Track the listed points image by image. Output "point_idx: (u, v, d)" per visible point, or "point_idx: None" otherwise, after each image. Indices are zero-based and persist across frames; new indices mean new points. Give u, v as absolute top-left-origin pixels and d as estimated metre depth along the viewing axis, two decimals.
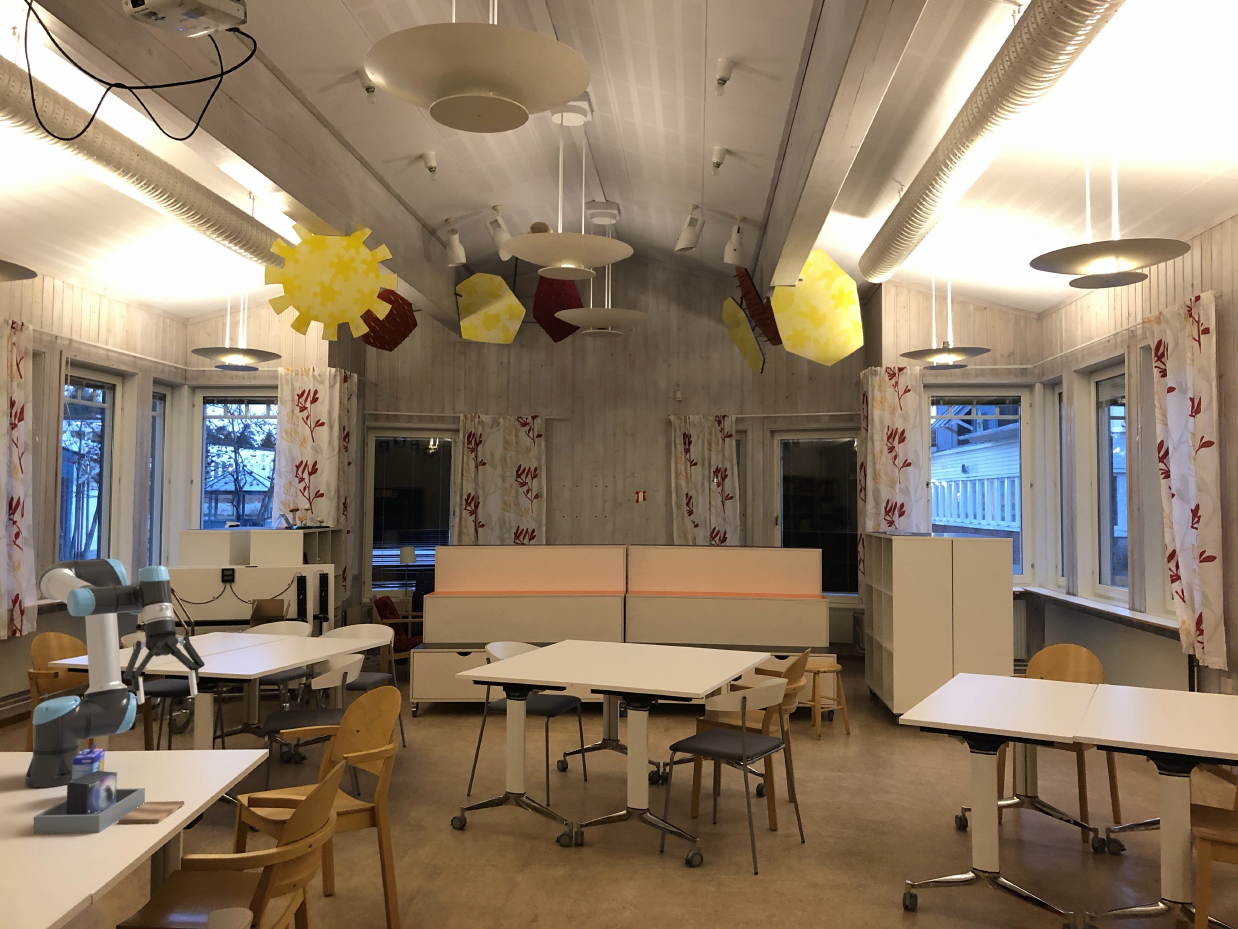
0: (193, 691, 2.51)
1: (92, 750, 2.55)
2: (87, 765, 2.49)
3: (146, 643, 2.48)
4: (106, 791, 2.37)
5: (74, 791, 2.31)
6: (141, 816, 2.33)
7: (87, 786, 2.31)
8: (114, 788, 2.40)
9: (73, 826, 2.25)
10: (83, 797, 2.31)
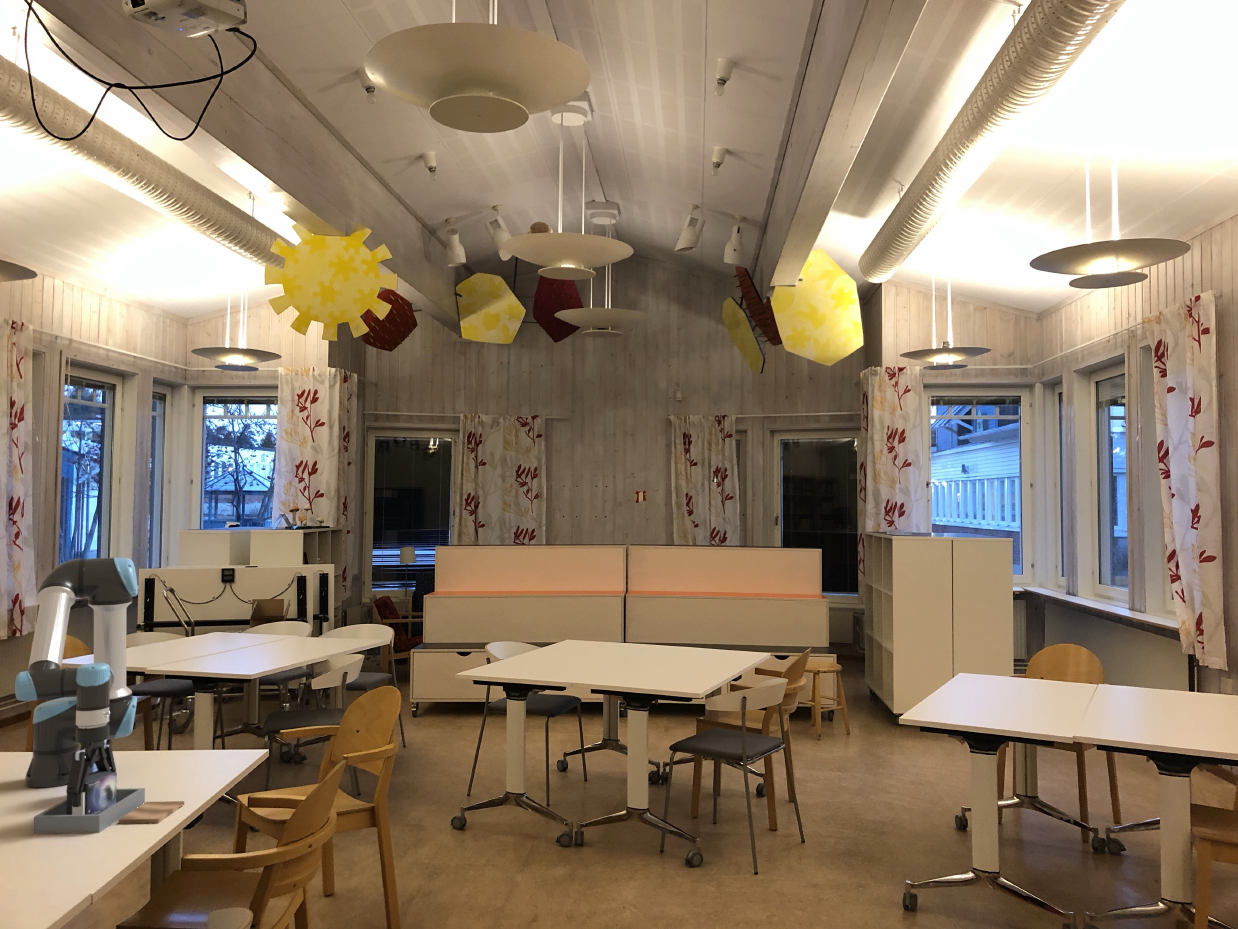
0: None
1: None
2: None
3: (86, 752, 2.33)
4: (106, 791, 2.37)
5: None
6: (141, 816, 2.33)
7: (87, 786, 2.31)
8: (114, 788, 2.40)
9: (73, 826, 2.25)
10: None
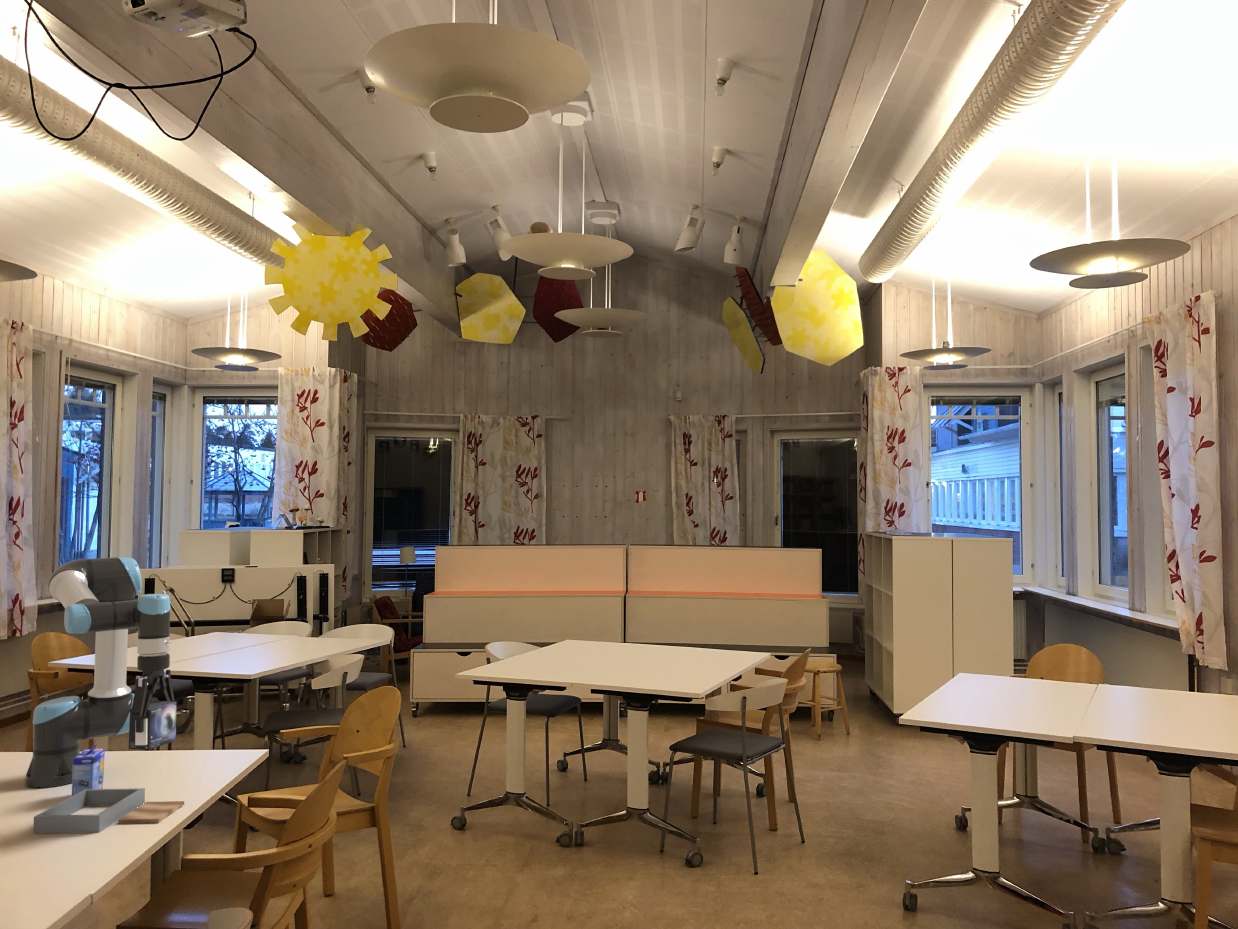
0: None
1: (92, 750, 2.55)
2: (87, 765, 2.49)
3: (148, 679, 2.36)
4: (166, 719, 2.40)
5: None
6: (141, 816, 2.33)
7: (149, 712, 2.34)
8: (174, 717, 2.43)
9: (73, 826, 2.25)
10: None
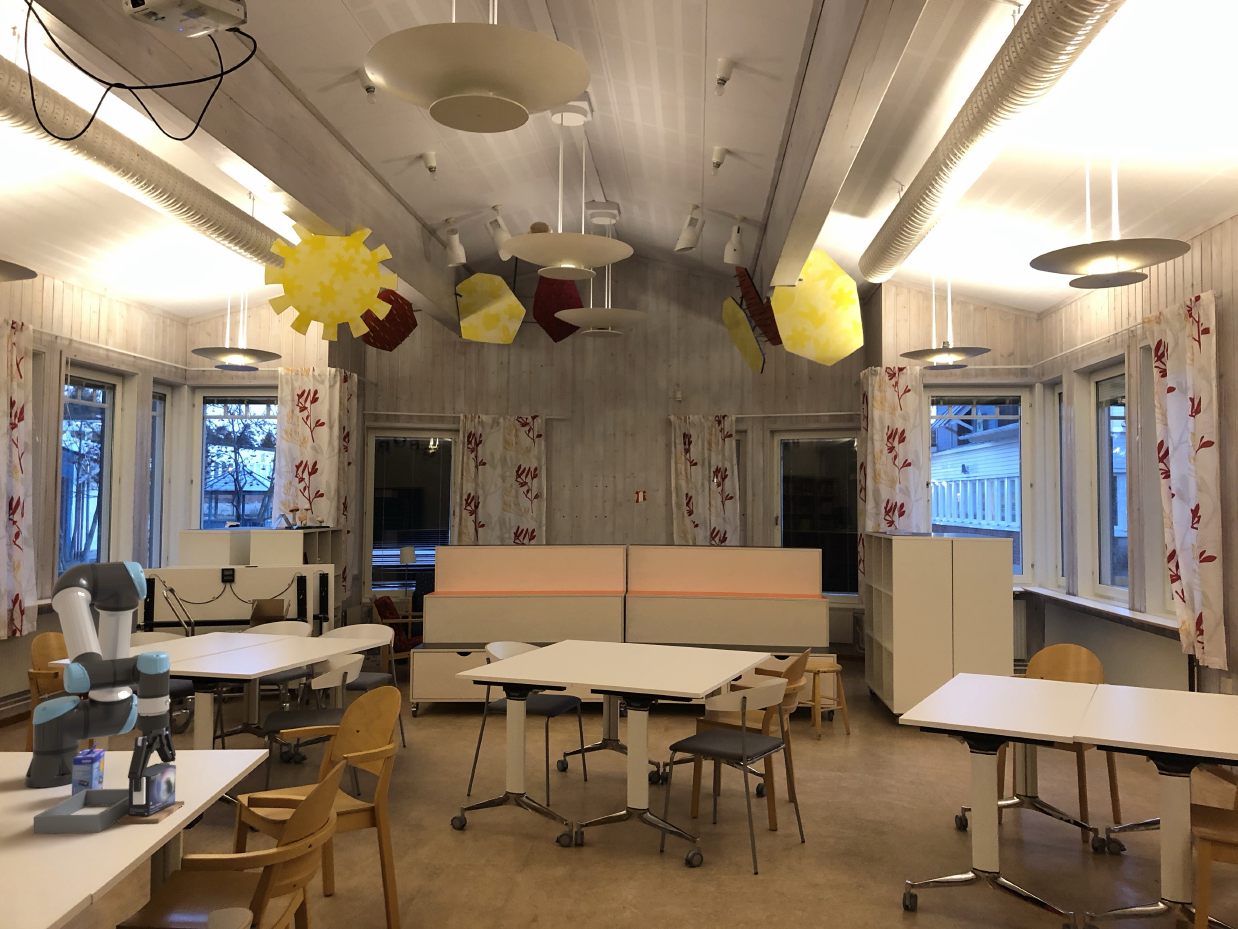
0: None
1: (92, 750, 2.55)
2: (87, 765, 2.49)
3: (147, 738, 2.35)
4: (166, 783, 2.39)
5: None
6: (141, 816, 2.33)
7: (149, 778, 2.33)
8: (173, 780, 2.42)
9: (73, 826, 2.25)
10: (145, 789, 2.33)
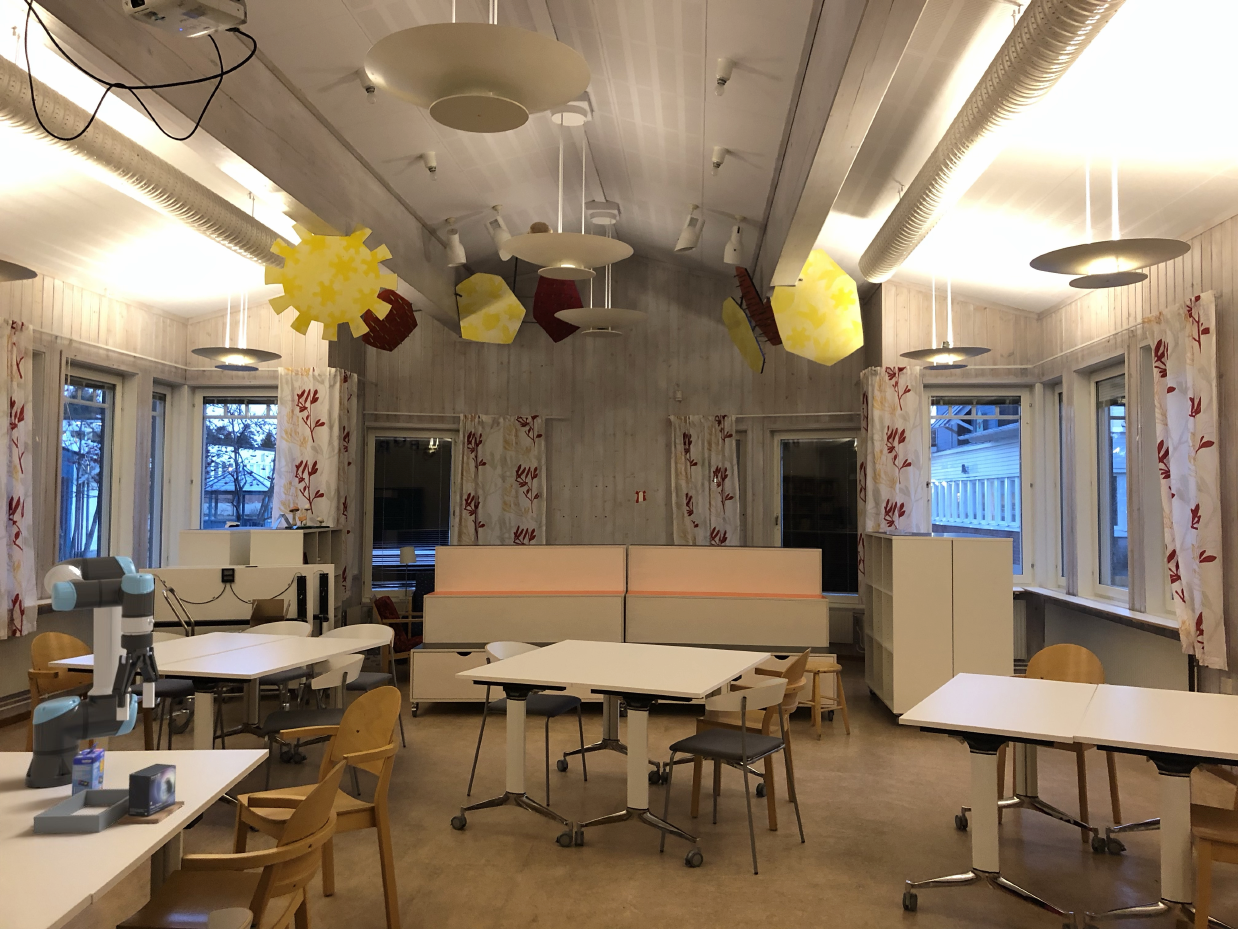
0: (150, 704, 2.49)
1: (92, 750, 2.55)
2: (87, 765, 2.49)
3: (131, 657, 2.39)
4: (166, 783, 2.39)
5: (137, 783, 2.34)
6: (141, 816, 2.33)
7: (149, 778, 2.33)
8: (173, 780, 2.42)
9: (73, 826, 2.25)
10: (145, 789, 2.33)
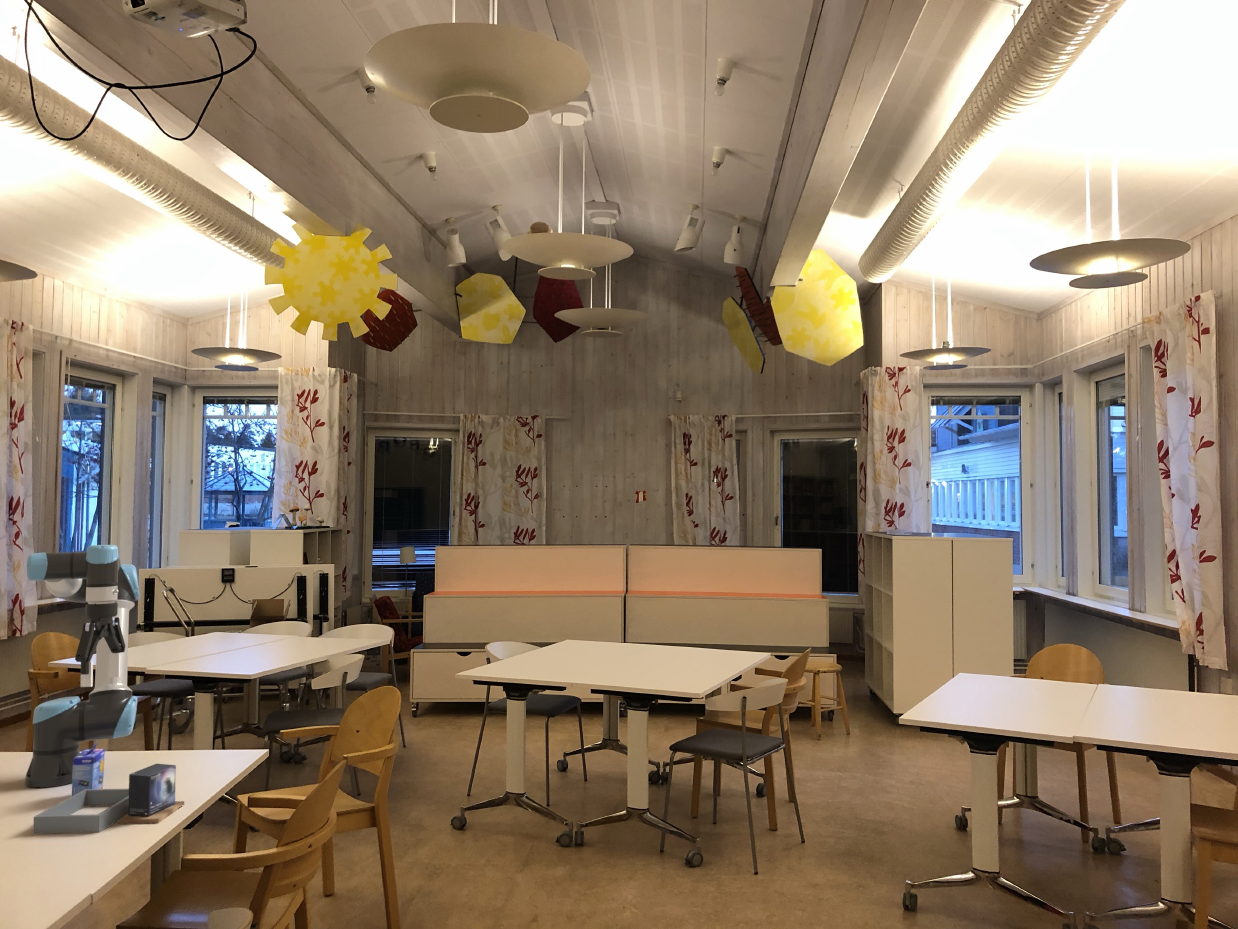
0: (116, 673, 2.54)
1: (92, 750, 2.55)
2: (87, 765, 2.49)
3: (95, 625, 2.44)
4: (166, 783, 2.39)
5: (137, 783, 2.34)
6: (141, 816, 2.33)
7: (149, 778, 2.33)
8: (173, 780, 2.42)
9: (73, 826, 2.25)
10: (145, 789, 2.33)
